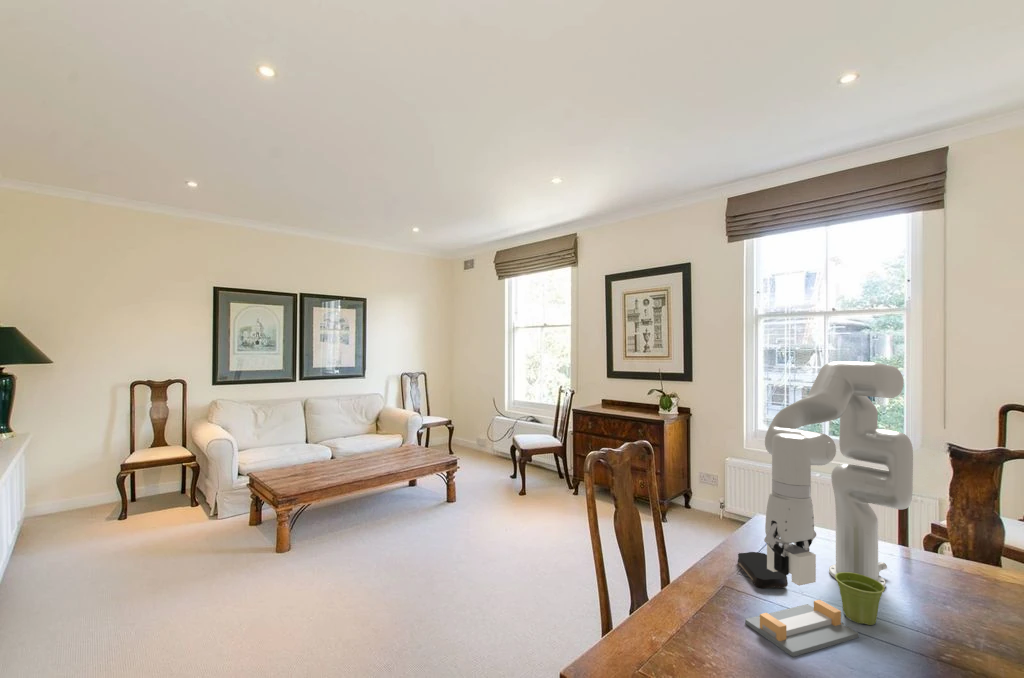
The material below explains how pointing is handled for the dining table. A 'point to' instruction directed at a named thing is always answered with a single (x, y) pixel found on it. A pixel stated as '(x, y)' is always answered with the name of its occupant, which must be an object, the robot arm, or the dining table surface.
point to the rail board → (803, 628)
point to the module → (796, 564)
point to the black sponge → (761, 570)
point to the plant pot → (859, 596)
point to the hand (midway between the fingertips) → (790, 569)
